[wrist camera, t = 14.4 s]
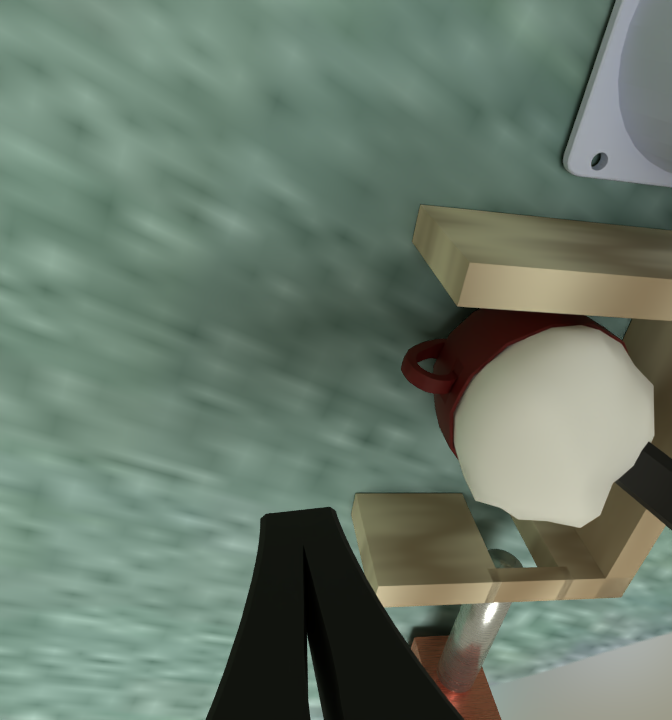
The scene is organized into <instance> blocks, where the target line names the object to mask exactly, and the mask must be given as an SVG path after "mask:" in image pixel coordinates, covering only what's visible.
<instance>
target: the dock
mask: <svg viewBox="0 0 672 720" xmlns="http://www.w3.org/2000/svg"><path fill="white" fill-rule="evenodd" d="M412 242H413V244H414V245H415V246H416V248H417V249H418V251H419V252H420V254H421V255H422V257H423V258H424V259H425V261H426V262H427V264H428V265H429V267H430V268H431V269H432V271H433V272H434V274H435V275H436V277H437V278H438V279H439V281H440V282H441V284H442V285H443V287H444V288H445V289H446V291H447V292H448V294H449V295H450V297H451V298H452V299H453V301H454V302H455V304H456V305H457V306H458V307H472V308H487V309H502V310H517V311H532V312H547V313H561V314H576V315H591V316H606V317H621V318H633V319H632V321H631V323H630V325H629V328H628V330H627V332H626V334H625V336H624V338H623V342H624V343H625V345H626V348H627V351H628V354H629V356H630V359H631V360H632V362H633V364H634V365H635V366H636V367H637V369H638V370H639V371H640V372H641V373H642V374H643V375H644V376H645V377H646V378H647V379H648V380H649V381H650V382H651V383H652V384H653V385H654V438H653V440H652V442H651V443H652V444H653V445H654V446H656V447H657V448H658V449H660V450H661V451H662V452H664V453H665V454H666V455H668V456H669V457H670V458H672V231H671V230H661V229H652V228H642V227H632V226H623V225H613V224H604V223H594V222H584V221H575V220H565V219H555V218H546V217H536V216H526V215H517V214H507V213H497V212H488V211H478V210H468V209H459V208H449V207H439V206H430V205H420V208H419V213H418V217H417V222H416V226H415V231H414V235H413V240H412ZM510 515H511V514H510ZM351 516H352V520H353V525H354V529H355V533H356V538H357V542H358V547H359V551H360V556H361V560H362V564H363V569H364V573H365V576H366V578H367V580H368V581H369V583H370V585H371V587H372V588H373V590H374V592H375V593H376V595H377V597H378V598H379V600H380V602H381V604H382V605H383V607H404V606H428V605H452V604H476V603H500V602H523V601H547V600H571V599H595V598H618V597H622V595H623V593H624V592H625V590H626V589H627V587H628V585H629V584H630V582H631V581H632V579H633V577H634V576H635V574H636V573H637V571H638V569H639V568H640V566H641V564H642V563H643V561H644V560H645V558H646V556H647V555H648V553H649V552H650V550H651V548H652V547H653V545H654V544H655V542H656V540H657V539H658V537H659V535H660V534H661V532H662V531H663V529H664V527H665V526H666V525H665V524H664V523H662V522H661V521H660V520H659V519H658V518H656V517H655V516H654V515H653V514H652V513H651V512H649V511H648V510H647V509H646V508H645V507H643V506H642V505H641V504H640V503H639V502H637V501H636V500H635V499H634V498H633V497H632V496H630V495H629V494H628V493H627V492H626V491H624V490H623V489H622V488H621V487H620V486H618V485H617V484H616V483H615V482H614V483H613V484H612V487H611V489H610V492H609V494H608V497H607V499H606V502H605V504H604V507H603V509H602V512H601V514H600V516H598V517H597V518H595V519H594V520H592V521H591V522H589V523H587V524H586V525H584V526H583V527H581V528H578V527H573V526H568V525H563V524H558V523H553V522H548V521H536V520H518V519H517V518H515V517H514V516H512V515H511V517H512V519H513V521H514V523H515V525H516V527H517V529H518V531H519V533H520V534H521V536H522V538H523V540H524V542H525V544H526V546H527V548H528V550H529V552H530V554H531V555H532V557H533V559H534V561H535V563H536V565H537V567H531V568H497V569H496V568H495V566H494V563H493V561H492V559H491V557H490V555H489V552H488V550H487V548H486V546H485V544H484V541H483V539H482V537H481V535H480V532H479V530H478V528H477V526H476V524H475V521H474V519H473V517H472V515H471V512H470V510H469V508H468V506H467V504H466V501H465V499H464V497H463V495H462V493H370V494H356V495H355V499H354V504H353V508H352V513H351Z"/></svg>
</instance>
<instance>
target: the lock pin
mask: <svg viewBox="0 0 672 720" xmlns="http://www.w3.org/2000/svg"><path fill="white" fill-rule="evenodd" d="M488 552H489V555H490V557H491V559H492V561H493V563H494V566H495V568H496V569H497V568H523V566H522V564H521V563H520V561H519V560H518V559H517V558H516V557H514V556H513V555H512V554H510V553H508V552H506V551H504V550H500V549H490V550H488ZM511 603H512V602H500V603H476V604H462V605H461V608H460V610H459V613H458V615H457V618H456V620H455V623H454V625H453V628H452V630H451V633H450V635H448V636H429V637H414V640H413V643H412V646H411V650H412V651H413V653H414V654H415V656H416V657H417V658H418V660H419V661H420V663H421V664H422V665H423V667H424V668H425V669H426V671H427V672H428V674H429V675H430V676H431V678H432V679H433V680H434V682H435V683H436V684H437V685H438V687H439V688H440V689H441V691H442V692H443V693H444V695H445V696H446V697H447V699H448V700H449V701H450V702H451V703H452V705H453V706H454V707H455V708H456V710H457V711H458V712H459V713H460V715H461V716H462V717H463V718H464V720H501V717H500V715H499V712H498V709H497V706H496V704H495V701H494V698H493V696H492V693H491V690H490V687H489V685H488V682H487V679H486V676H485V674H484V671H483V668H482V664H483V662H484V660H485V658H486V656H487V654H488V652H489V649H490V647H491V645H492V643H493V641H494V639H495V637H496V635H497V633H498V630H499V628H500V626H501V624H502V622H503V620H504V618H505V616H506V614H507V611H508V609H509V607H510V605H511Z"/></svg>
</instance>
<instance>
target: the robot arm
mask: <svg viewBox="0 0 672 720" xmlns="http://www.w3.org/2000/svg"><path fill="white" fill-rule="evenodd" d="M598 153H601V159H600V161H599V163H598V164H597V165H595V166H594V167H591V161H592V159H593V157H594V156H595V155H596V154H598ZM563 164H564V168H565V169H566V170H567V171H568V172H570V173H571V174H573V175H576V176H581V177H589V178H597V179H606V180H614V181H622V182H630V183H639V184H647V185H655V186H664V187H672V0H616V2H615V5H614V8H613V11H612V14H611V17H610V19H609V22H608V25H607V28H606V31H605V34H604V37H603V40H602V43H601V46H600V49H599V52H598V55H597V58H596V61H595V64H594V67H593V70H592V73H591V76H590V79H589V82H588V85H587V88H586V91H585V94H584V97H583V100H582V103H581V106H580V109H579V111H578V114H577V117H576V120H575V123H574V126H573V129H572V132H571V135H570V138H569V141H568V144H567V147H566V150H565V153H564V157H563ZM307 636H308V641H309V646H310V651H311V656H312V661H313V666H314V672H315V677H316V682H317V687H318V692H319V697H320V702H321V707H322V712H323V717H324V720H464V718H463V717H462V716H461V715H460V713H459V712H458V711H457V710H456V708H455V707H454V706H453V705H452V703H451V702H450V701H449V700H448V699H447V697H446V696H445V695H444V693H443V692H442V691H441V689H440V688H439V687H438V685H437V684H436V683H435V682H434V680H433V679H432V678H431V676H430V675H429V674H428V672H427V671H426V669H425V668H424V667H423V665H422V664H421V663H420V661H419V660H418V658H417V657H416V656H415V654H414V653H413V651H412V650H411V648H410V647H409V645H408V644H407V642H406V641H405V639H404V638H403V636H402V635H401V633H400V632H399V630H398V629H397V628H396V626H395V624H394V623H393V621H392V620H391V618H390V617H389V615H388V613H387V612H386V610H385V609H384V607H383V605H382V604H381V602H380V600H379V598H378V597H377V595H376V593H375V592H374V590H373V588H372V587H371V585H370V583H369V581H368V580H367V578H366V576H365V574H364V572H363V571H362V569H361V567H360V565H359V563H358V561H357V559H356V557H355V555H354V553H353V551H352V549H351V547H350V545H349V543H348V541H347V539H346V536H345V534H344V532H343V530H342V527H341V525H340V522H339V519H338V517H337V514H336V511H335V510H334V509H332V508H331V507H324V508H315V509H306V510H297V511H288V512H279V513H269V514H265V515H264V516H263V517H262V518H261V519H260V537H259V545H258V552H257V557H256V563H255V567H254V572H253V577H252V581H251V585H250V589H249V593H248V596H247V600H246V604H245V608H244V611H243V615H242V619H241V622H240V625H239V629H238V632H237V635H236V638H235V641H234V644H233V647H232V650H231V653H230V656H229V659H228V662H227V665H226V668H225V671H224V673H223V676H222V679H221V681H220V684H219V687H218V689H217V692H216V695H215V697H214V700H213V702H212V705H211V708H210V710H209V712H208V715H207V717H206V720H310V712H309V703H308V665H307Z"/></svg>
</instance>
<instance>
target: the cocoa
mask: <svg viewBox="0 0 672 720" xmlns="http://www.w3.org/2000/svg"><path fill="white" fill-rule="evenodd" d="M428 358H433V359H437V360H436V362H435V364H434V366H433V373H430V372H427V371H426V370H424V369H423V368H421V367H420V366H419V365H418V362H420V361H423V360H425V359H428ZM401 371H402V373H403V375H404V376H405V377H406V379H407V380H408V381H409V382H410V383H412V384H413V385H414V386H416V387H417V388H419V389H421V390H423V391H425V392H429V393H433V394H434V402H435V410H436V415H437V419H438V423H439V427H440V429H441V431H442V433H443V435H444V437H445V440H446V442H447V444H448V446H449V448H450V449H451V450H452V452H453V453H454V455H455V456H456V457H457V459H458V460H459V463H460V466H461V469H462V472H463V476H464V478H465V480H466V482H467V484H468V486H469V488H470V490H471V492H472V495H473V497H474V499H475V501H479V502H482V503H486V504H489V505H492V506H496V507H499V508H501V509H503V510H505V511H506V512H508V513H509V514H511V515H512V516H514V517H515V518H517V519H518V520H536V521H548V522H553V523H558V524H563V525H568V526H573V527H578V528H581V527H583V526H584V525H586V524H587V523H589V522H591V521H592V520H594V519H595V518H597V517H598V516H600V514H601V512H602V509H603V507H604V504H605V502H606V499H607V497H608V494H609V492H610V489H611V487H612V484H613V483H614V482H615V483H616V484H617V485H618V486H620V487H621V488H622V489H623V490H624V491H626V492H627V493H628V494H629V495H630V496H632V497H633V498H634V499H635V500H636V501H637V502H639V503H640V504H641V505H642V506H643V507H645V508H646V509H647V510H648V511H649V512H651V513H652V514H653V515H654V516H655V517H656V518H658V519H659V520H660V521H661V522H662V523H664V524H665V525H666V526H667V527H668V528H670V529H671V530H672V458H670V457H669V456H668V455H666V454H665V453H664V452H662V451H661V450H660V449H658V448H657V447H656V446H654V445H653V444H652V443H651V442H652V440H653V438H654V385H653V384H652V383H651V382H650V381H649V380H648V379H647V378H646V377H645V376H644V375H643V374H642V373H641V372H640V371H639V370H638V369H637V367H636V366H635V365H634V364H633V362H632V360H631V359H630V356H629V354H628V351H627V348H626V345H625V343H624V342H623V341H622V340H621V339H619V338H618V337H617V336H615V335H614V334H613V333H611V332H610V331H608V330H607V329H606V328H604V327H603V326H601V325H600V324H598V323H596V322H595V321H593V320H591V319H590V318H588V317H587V316H585V315H576V314H561V313H547V312H532V311H517V310H502V309H487V308H482V309H479V310H477V311H474V312H473V313H472V314H471V315H470V316H468V317H467V318H466V319H465V320H464V321H463V322H462V323H461V324H460V325H459V326H457V327H456V328H455V329H454V330H453V331H452V332H451V333H450V334H449V336H448V338H447V339H434V340H431V341H426V342H422V343H420V344H418V345H415V346H414V347H412V348H411V349H409V350H408V352H407V353H406V355H405V357H404V359H403V362H402V366H401Z"/></svg>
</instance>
